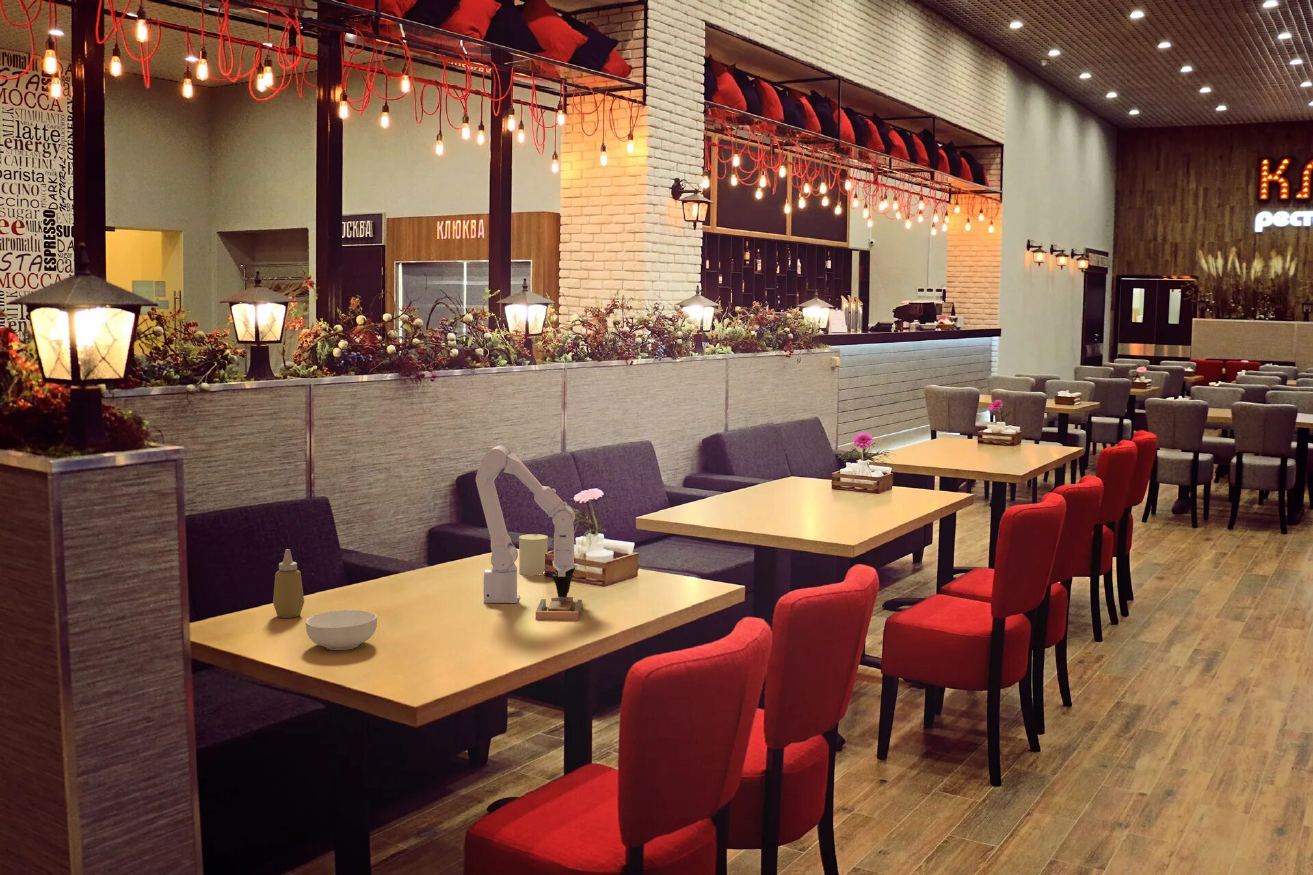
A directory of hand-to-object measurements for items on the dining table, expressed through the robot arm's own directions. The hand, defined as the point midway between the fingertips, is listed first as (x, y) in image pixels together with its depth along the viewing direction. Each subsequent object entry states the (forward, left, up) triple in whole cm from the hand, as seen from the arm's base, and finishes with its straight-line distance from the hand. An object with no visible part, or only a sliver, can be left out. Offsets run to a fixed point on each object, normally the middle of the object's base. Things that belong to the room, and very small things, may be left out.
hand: (563, 595), depth 332 cm
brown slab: (0, -9, -2) cm, 9 cm away
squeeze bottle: (-72, -21, -2) cm, 75 cm away
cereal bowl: (-50, -48, -2) cm, 69 cm away
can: (-13, +36, -2) cm, 39 cm away
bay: (0, -13, -2) cm, 13 cm away
